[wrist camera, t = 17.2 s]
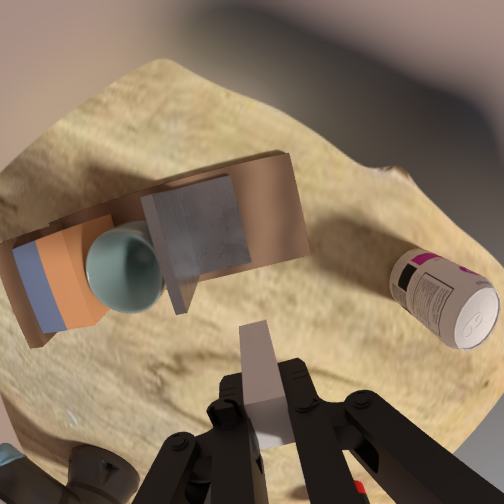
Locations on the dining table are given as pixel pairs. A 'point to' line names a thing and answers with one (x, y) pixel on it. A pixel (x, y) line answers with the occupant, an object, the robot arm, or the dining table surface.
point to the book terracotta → (73, 271)
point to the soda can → (362, 492)
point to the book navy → (38, 288)
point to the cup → (125, 268)
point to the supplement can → (445, 298)
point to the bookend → (195, 235)
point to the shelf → (130, 206)
